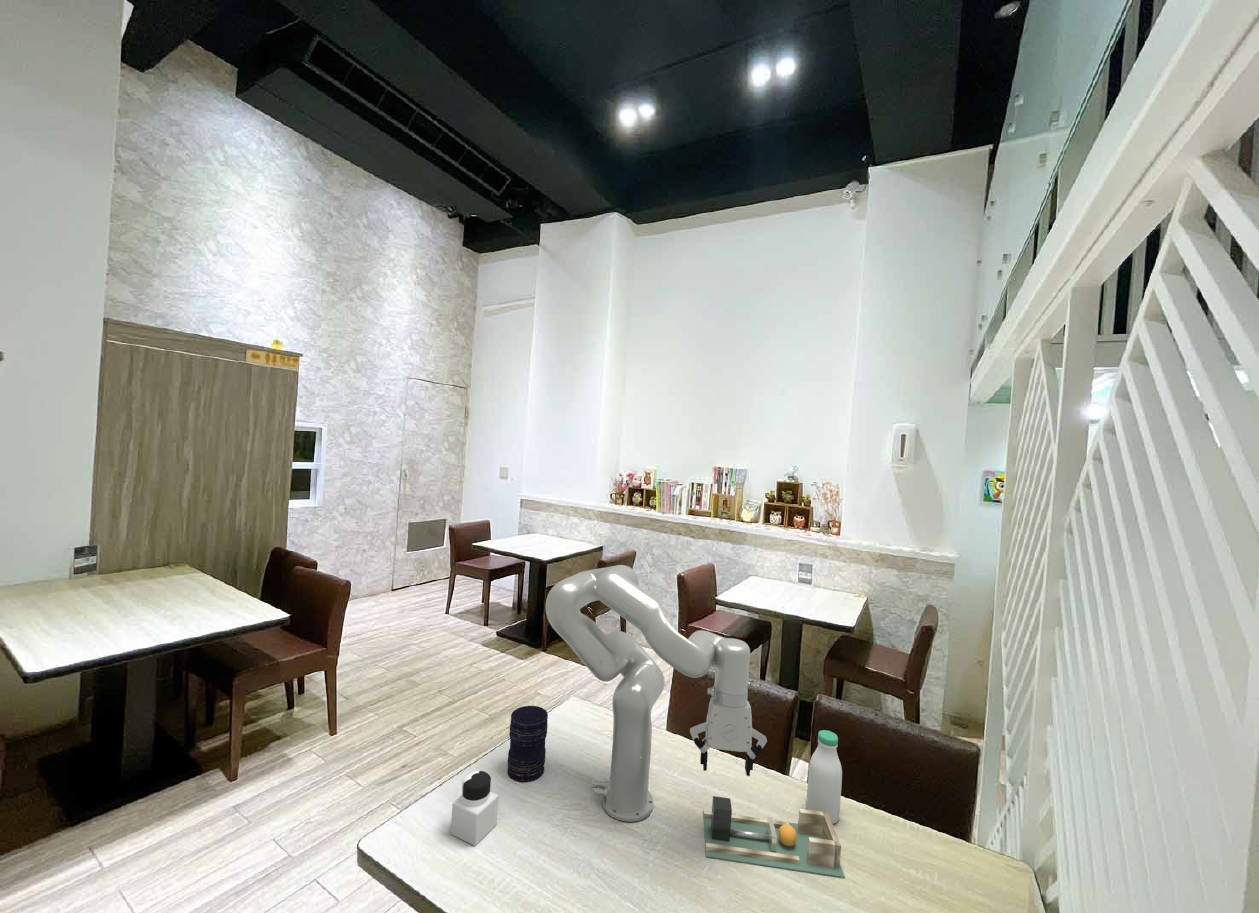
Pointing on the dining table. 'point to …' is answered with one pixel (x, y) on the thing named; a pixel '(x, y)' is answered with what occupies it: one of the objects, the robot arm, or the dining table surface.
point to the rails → (751, 852)
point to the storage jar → (527, 744)
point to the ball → (787, 835)
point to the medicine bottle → (474, 808)
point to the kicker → (723, 829)
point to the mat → (768, 849)
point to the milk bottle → (825, 777)
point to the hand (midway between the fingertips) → (725, 769)
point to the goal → (820, 849)
